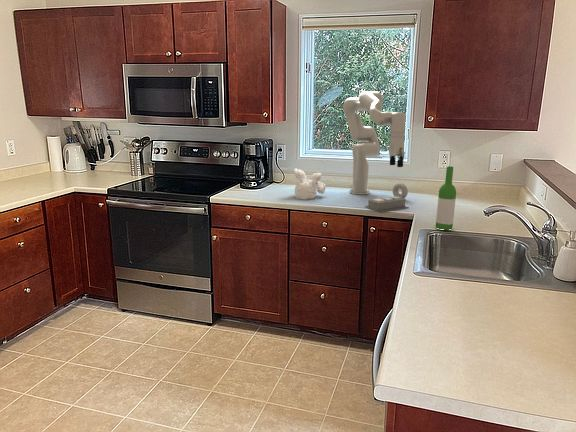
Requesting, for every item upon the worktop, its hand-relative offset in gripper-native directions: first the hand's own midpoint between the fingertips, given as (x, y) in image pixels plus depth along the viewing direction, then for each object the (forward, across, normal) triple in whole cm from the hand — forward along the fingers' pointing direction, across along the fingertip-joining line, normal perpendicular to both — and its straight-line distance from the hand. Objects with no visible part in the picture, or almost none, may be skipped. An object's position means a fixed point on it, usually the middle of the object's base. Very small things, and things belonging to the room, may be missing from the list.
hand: (396, 166), depth 271 cm
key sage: (+20, +2, -1) cm, 20 cm away
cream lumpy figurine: (+21, -30, -42) cm, 56 cm away
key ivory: (+20, +7, -13) cm, 25 cm away
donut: (+22, -13, +9) cm, 27 cm away
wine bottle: (+25, +49, +2) cm, 55 cm away
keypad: (+22, +4, -7) cm, 24 cm away
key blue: (+20, +5, -7) cm, 22 cm away
